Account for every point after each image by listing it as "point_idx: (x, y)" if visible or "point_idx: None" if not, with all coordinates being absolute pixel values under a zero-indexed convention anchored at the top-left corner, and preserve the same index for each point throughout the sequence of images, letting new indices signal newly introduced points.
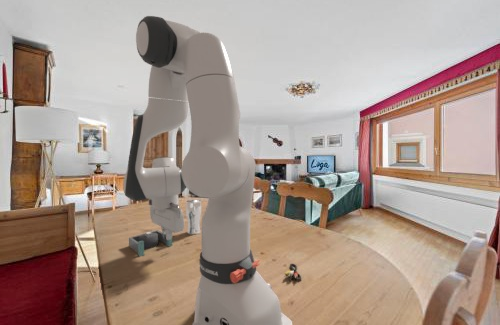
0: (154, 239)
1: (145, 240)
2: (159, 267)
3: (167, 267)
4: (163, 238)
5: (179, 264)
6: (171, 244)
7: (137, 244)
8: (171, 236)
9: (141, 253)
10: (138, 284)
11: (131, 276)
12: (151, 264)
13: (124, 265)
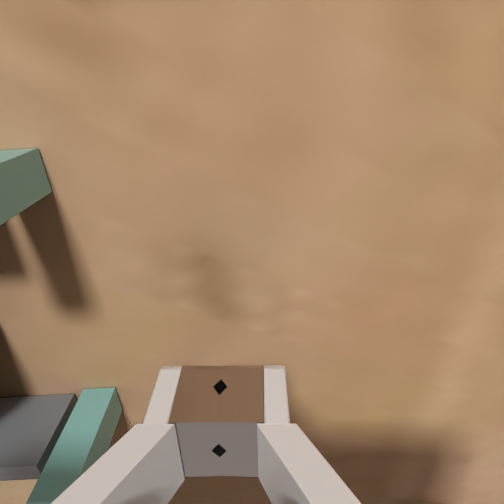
0: None
1: None
2: (386, 374)
3: (435, 342)
4: None
5: (479, 270)
6: (34, 163)
7: (13, 474)
8: (285, 388)
9: (112, 416)
10: (452, 476)
11: (350, 479)
12: (303, 392)
13: (195, 479)
